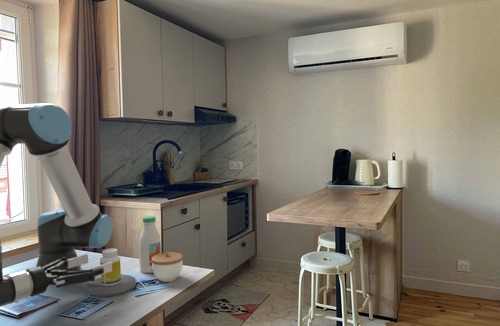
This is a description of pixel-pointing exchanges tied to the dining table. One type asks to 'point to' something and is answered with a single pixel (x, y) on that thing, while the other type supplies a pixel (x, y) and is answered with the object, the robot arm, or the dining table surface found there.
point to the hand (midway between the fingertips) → (99, 262)
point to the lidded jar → (167, 266)
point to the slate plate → (111, 287)
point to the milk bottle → (148, 244)
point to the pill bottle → (115, 274)
